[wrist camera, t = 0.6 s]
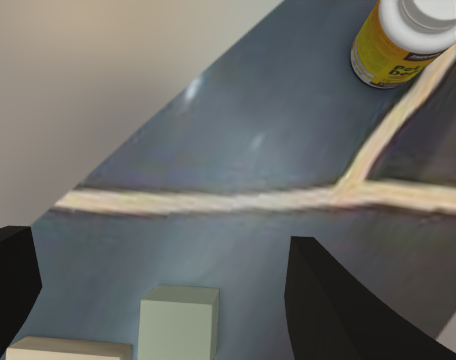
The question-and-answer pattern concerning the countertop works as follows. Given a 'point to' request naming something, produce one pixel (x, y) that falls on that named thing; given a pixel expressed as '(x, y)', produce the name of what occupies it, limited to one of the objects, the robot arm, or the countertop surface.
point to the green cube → (179, 323)
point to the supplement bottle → (402, 39)
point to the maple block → (66, 350)
